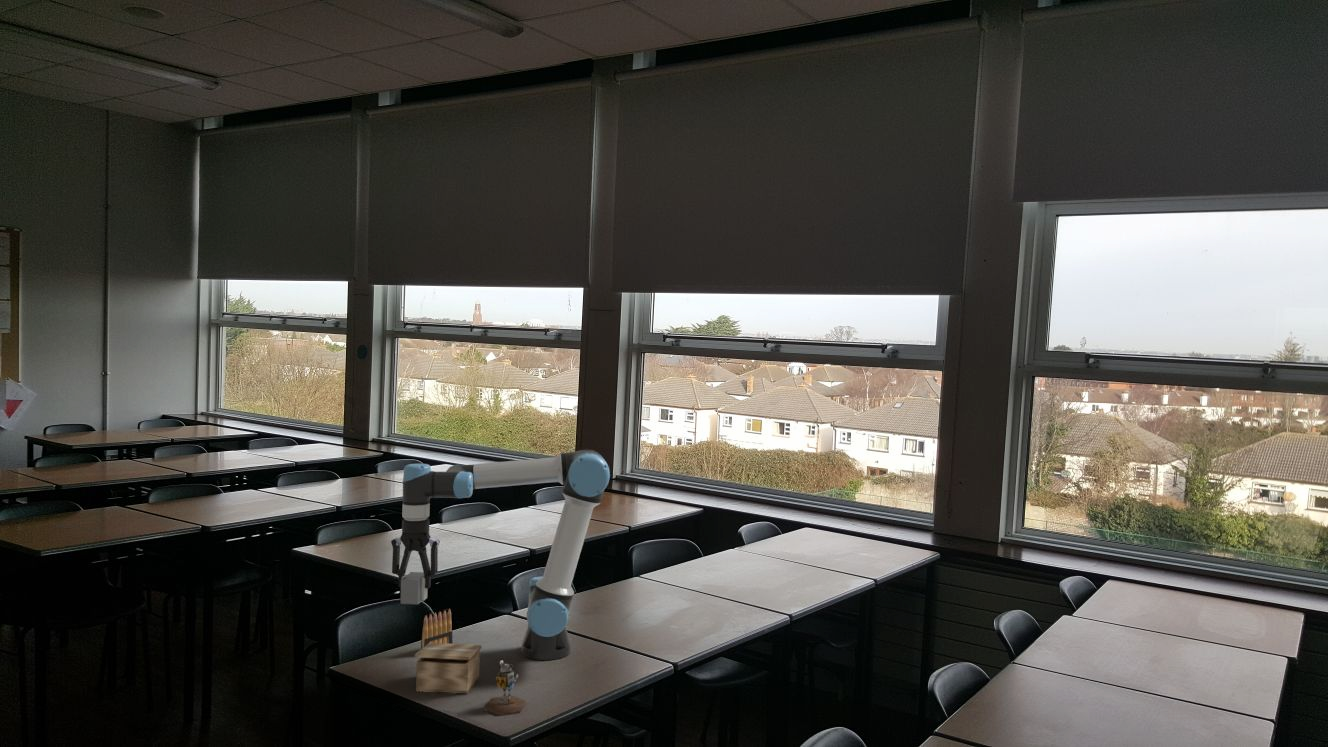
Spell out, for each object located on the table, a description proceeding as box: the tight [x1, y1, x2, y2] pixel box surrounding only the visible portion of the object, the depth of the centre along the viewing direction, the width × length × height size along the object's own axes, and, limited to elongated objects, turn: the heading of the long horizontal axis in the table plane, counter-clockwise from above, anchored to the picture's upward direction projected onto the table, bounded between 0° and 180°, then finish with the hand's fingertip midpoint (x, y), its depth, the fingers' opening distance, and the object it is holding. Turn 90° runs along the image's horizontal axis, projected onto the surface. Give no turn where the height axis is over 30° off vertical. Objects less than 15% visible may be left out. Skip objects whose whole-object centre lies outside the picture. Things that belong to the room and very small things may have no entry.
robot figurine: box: [484, 660, 527, 717], centre depth 221 cm, size 11×9×12 cm
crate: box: [415, 649, 481, 694], centre depth 235 cm, size 14×12×8 cm
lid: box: [414, 643, 482, 660], centre depth 234 cm, size 15×13×1 cm
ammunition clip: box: [420, 608, 453, 650], centre depth 260 cm, size 11×2×12 cm, turn 143°
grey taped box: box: [400, 571, 429, 605], centre depth 244 cm, size 5×8×7 cm, turn 177°
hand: (414, 598), depth 244 cm, fingers closed on grey taped box, 5 cm apart
